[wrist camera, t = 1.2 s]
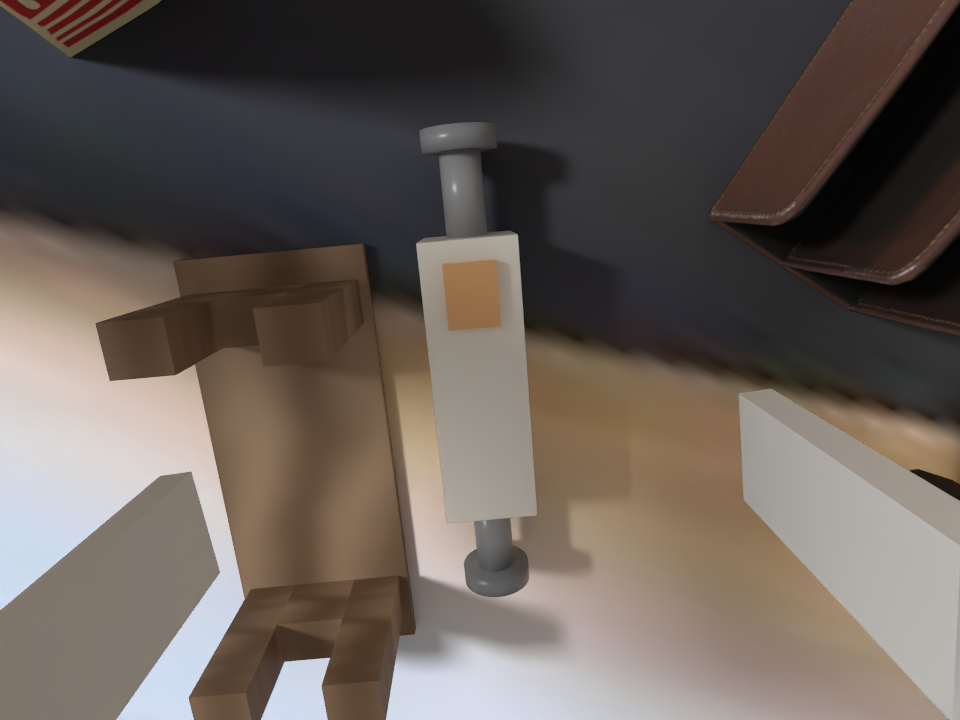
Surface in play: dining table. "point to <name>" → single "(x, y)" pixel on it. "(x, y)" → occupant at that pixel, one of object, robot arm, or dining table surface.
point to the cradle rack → (290, 467)
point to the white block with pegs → (478, 362)
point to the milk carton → (76, 19)
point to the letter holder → (865, 167)
